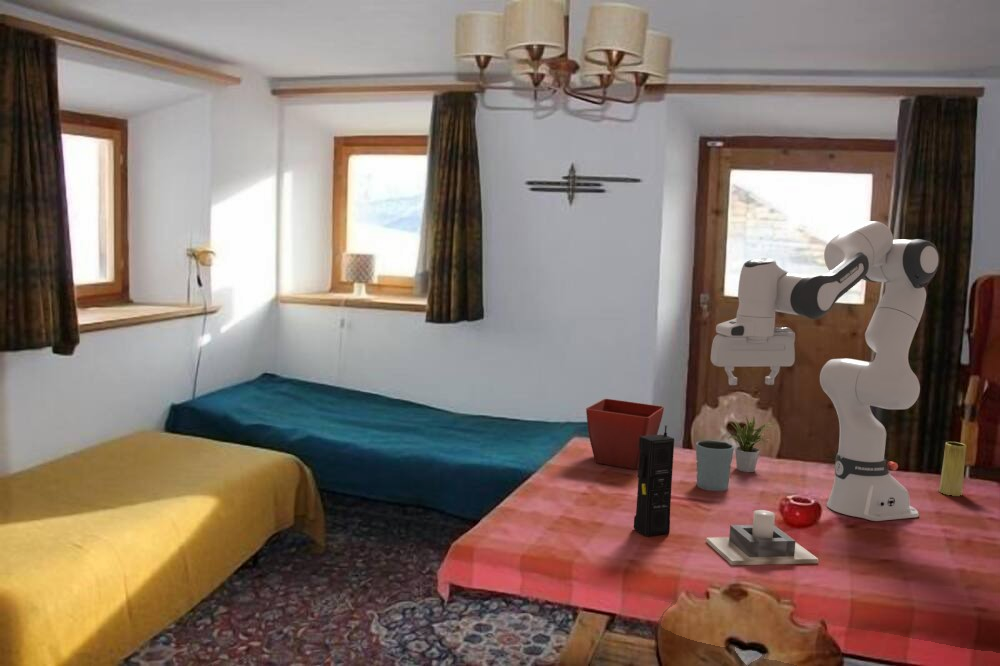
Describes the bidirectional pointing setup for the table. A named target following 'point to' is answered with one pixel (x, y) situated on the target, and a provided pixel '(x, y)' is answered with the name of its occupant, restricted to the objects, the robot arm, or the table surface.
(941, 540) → the table surface
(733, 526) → the end holder
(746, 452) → the house plant
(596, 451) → the plant pot
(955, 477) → the vase
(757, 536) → the connector plug
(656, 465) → the portable radio
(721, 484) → the teal cup
